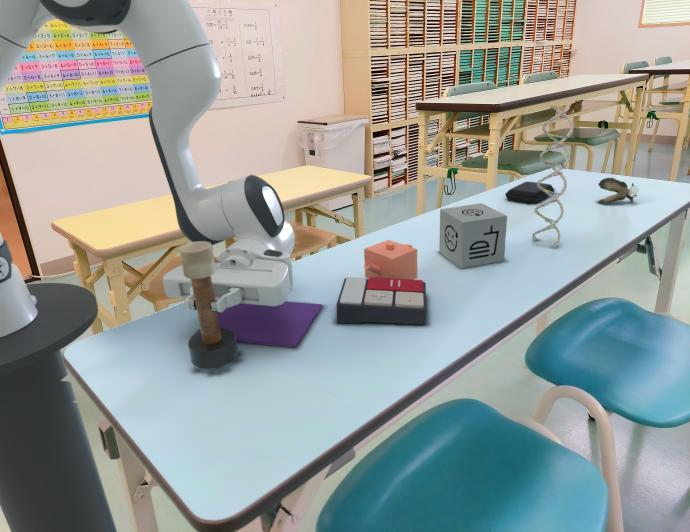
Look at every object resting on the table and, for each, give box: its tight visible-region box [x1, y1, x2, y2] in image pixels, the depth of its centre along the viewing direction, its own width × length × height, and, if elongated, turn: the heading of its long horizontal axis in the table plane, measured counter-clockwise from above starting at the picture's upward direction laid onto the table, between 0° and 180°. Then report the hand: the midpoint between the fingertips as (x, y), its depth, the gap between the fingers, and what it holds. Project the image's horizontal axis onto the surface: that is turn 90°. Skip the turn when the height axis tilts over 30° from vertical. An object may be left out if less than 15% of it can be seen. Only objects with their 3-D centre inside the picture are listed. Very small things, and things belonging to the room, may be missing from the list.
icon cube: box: [438, 202, 508, 270], centre depth 111 cm, size 10×10×10 cm
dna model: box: [531, 104, 574, 249], centre depth 112 cm, size 7×6×30 cm
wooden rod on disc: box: [178, 241, 239, 370], centre depth 76 cm, size 7×7×18 cm
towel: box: [195, 300, 323, 348], centre depth 91 cm, size 18×14×1 cm
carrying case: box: [504, 181, 556, 204], centre depth 151 cm, size 11×3×15 cm
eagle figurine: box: [597, 177, 640, 205], centre depth 142 cm, size 8×7×9 cm
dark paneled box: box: [336, 276, 427, 326], centre depth 92 cm, size 11×4×15 cm
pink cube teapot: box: [363, 239, 418, 280], centre depth 101 cm, size 8×12×8 cm, turn 130°
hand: (202, 306), depth 75 cm, fingers closed on wooden rod on disc, 3 cm apart
